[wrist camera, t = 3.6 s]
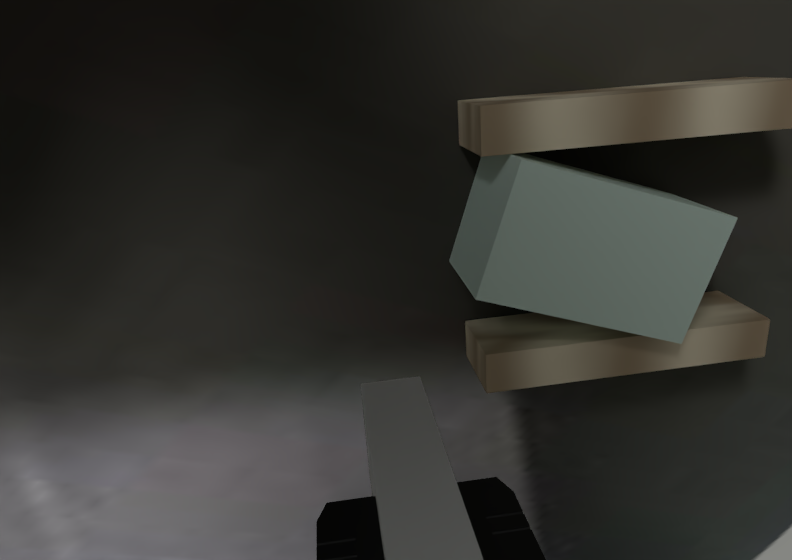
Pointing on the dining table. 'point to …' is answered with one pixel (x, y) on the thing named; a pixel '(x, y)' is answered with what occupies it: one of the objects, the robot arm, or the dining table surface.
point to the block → (587, 246)
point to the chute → (597, 126)
